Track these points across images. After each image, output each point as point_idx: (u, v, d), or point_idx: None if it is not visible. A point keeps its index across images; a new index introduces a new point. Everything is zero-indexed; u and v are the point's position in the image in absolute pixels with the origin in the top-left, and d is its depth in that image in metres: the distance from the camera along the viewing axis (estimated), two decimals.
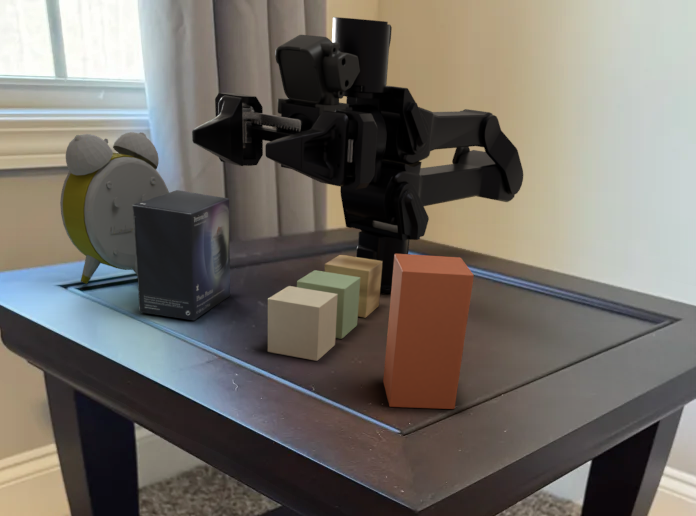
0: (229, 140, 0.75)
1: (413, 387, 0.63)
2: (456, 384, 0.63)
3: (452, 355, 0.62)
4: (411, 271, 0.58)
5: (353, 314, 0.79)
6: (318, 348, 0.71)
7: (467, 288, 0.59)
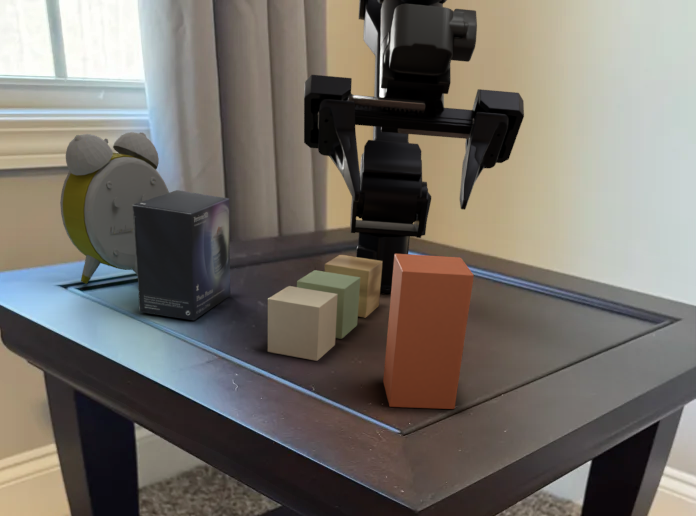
0: None
1: (413, 387, 0.63)
2: (456, 384, 0.63)
3: (452, 355, 0.62)
4: (411, 271, 0.58)
5: (353, 314, 0.79)
6: (318, 348, 0.71)
7: (467, 288, 0.59)
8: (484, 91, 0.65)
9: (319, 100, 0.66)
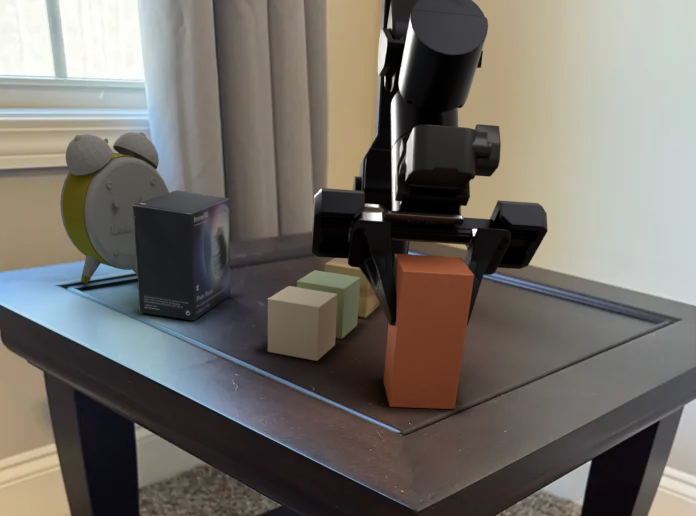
0: None
1: (413, 387, 0.63)
2: (456, 384, 0.63)
3: (452, 355, 0.62)
4: (412, 271, 0.58)
5: (353, 314, 0.79)
6: (318, 348, 0.71)
7: (467, 288, 0.59)
8: (505, 205, 0.61)
9: None
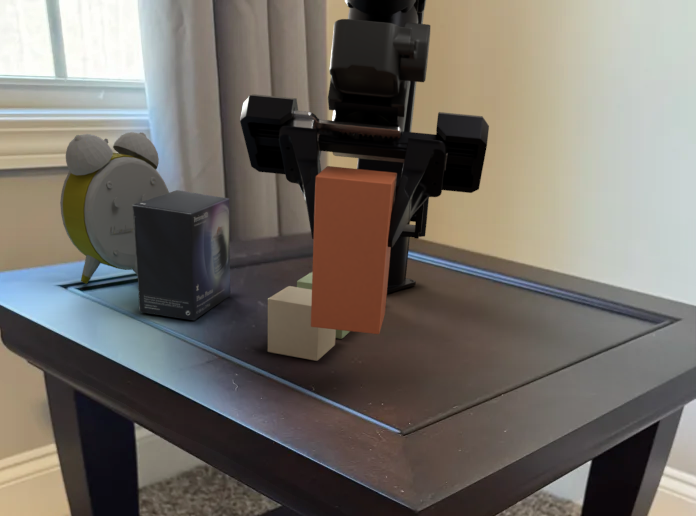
0: None
1: (334, 307, 0.60)
2: (379, 306, 0.60)
3: (373, 273, 0.58)
4: (325, 177, 0.55)
5: None
6: (318, 348, 0.71)
7: (385, 198, 0.55)
8: (442, 115, 0.57)
9: None
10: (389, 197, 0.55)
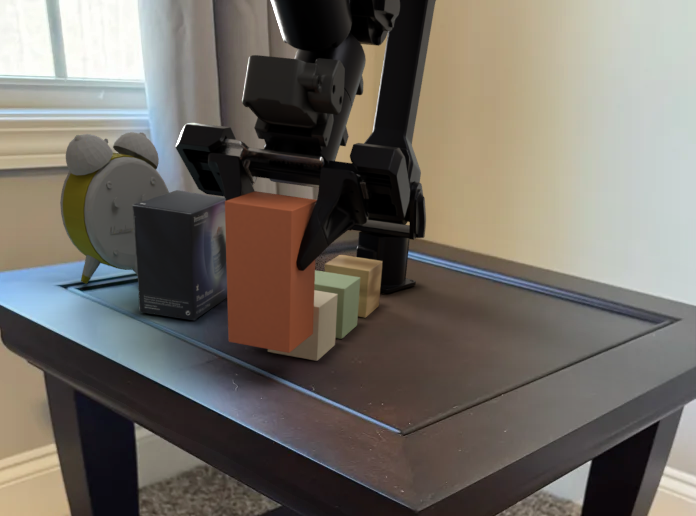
0: None
1: (247, 324, 0.63)
2: (288, 326, 0.62)
3: (280, 294, 0.61)
4: (233, 202, 0.58)
5: (353, 314, 0.79)
6: (318, 348, 0.71)
7: (287, 224, 0.58)
8: (357, 146, 0.59)
9: None
10: (290, 223, 0.58)
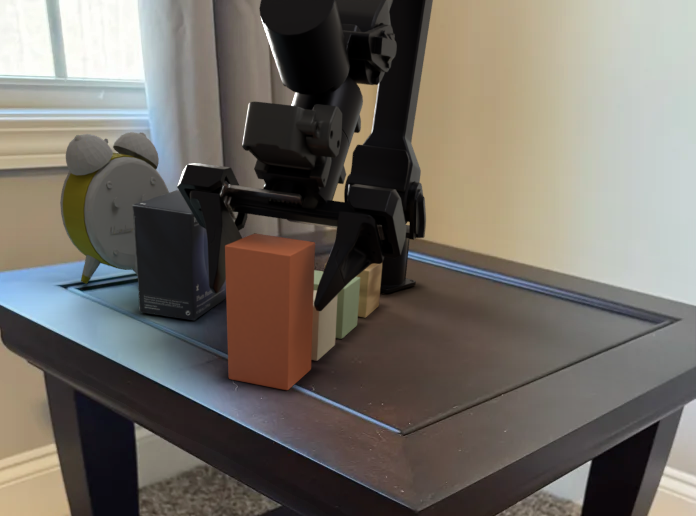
0: (229, 243, 0.65)
1: (247, 362, 0.65)
2: (286, 365, 0.64)
3: (278, 334, 0.62)
4: (233, 247, 0.60)
5: (353, 314, 0.79)
6: (318, 348, 0.71)
7: (285, 268, 0.60)
8: (354, 188, 0.60)
9: None
10: (289, 267, 0.59)
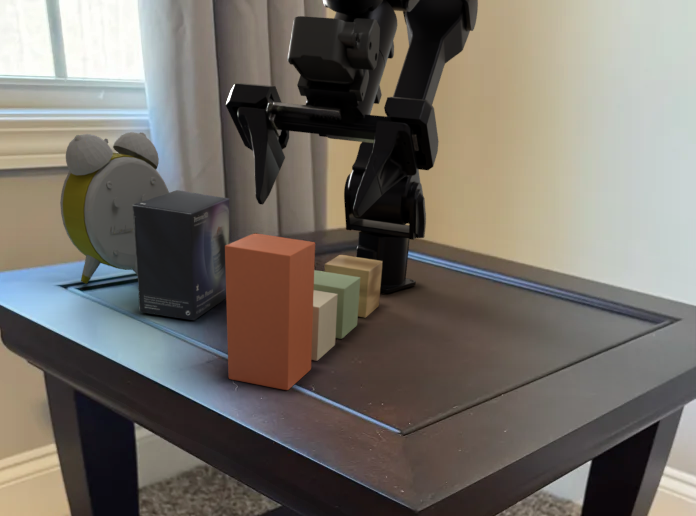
0: (273, 159, 0.70)
1: (247, 362, 0.65)
2: (286, 365, 0.64)
3: (278, 334, 0.62)
4: (233, 247, 0.60)
5: (353, 314, 0.79)
6: (318, 348, 0.71)
7: (285, 268, 0.59)
8: (390, 99, 0.65)
9: None
10: (288, 267, 0.59)
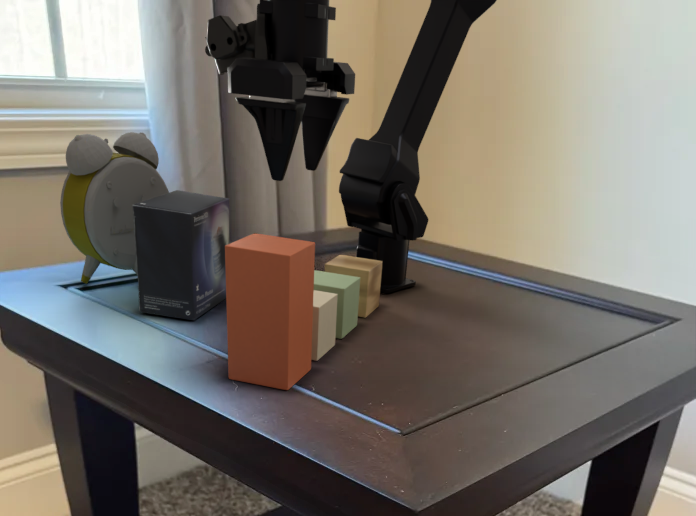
0: (318, 120, 0.81)
1: (247, 362, 0.65)
2: (286, 365, 0.64)
3: (278, 334, 0.62)
4: (233, 247, 0.60)
5: (353, 314, 0.79)
6: (318, 348, 0.71)
7: (285, 268, 0.59)
8: None
9: None
10: (288, 267, 0.59)
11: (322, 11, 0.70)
